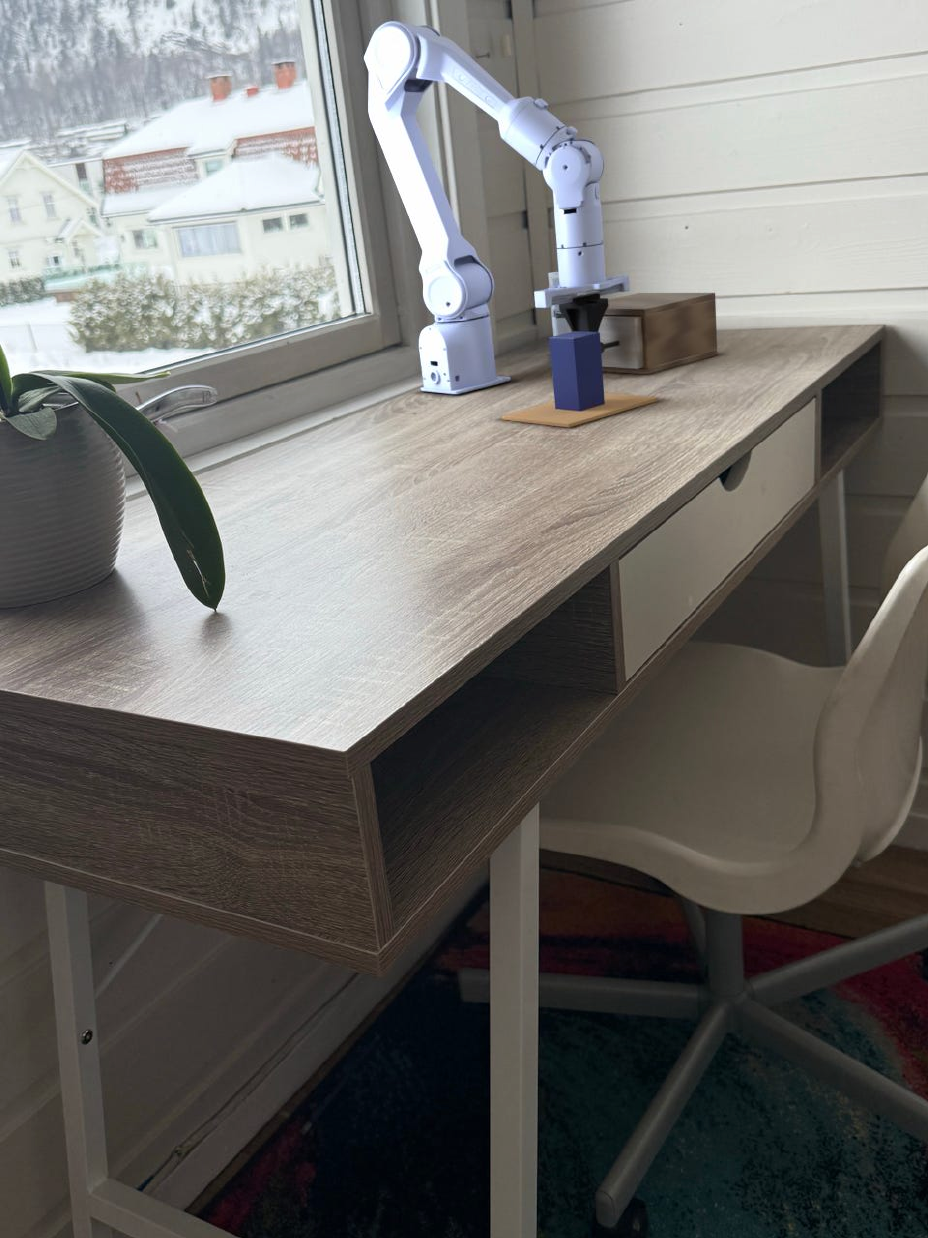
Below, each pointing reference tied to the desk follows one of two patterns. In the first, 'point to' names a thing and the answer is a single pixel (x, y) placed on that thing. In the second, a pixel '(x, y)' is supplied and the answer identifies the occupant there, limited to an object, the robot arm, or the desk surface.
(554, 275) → the ink box
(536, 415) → the cork pad
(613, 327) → the drawer
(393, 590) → the desk surface
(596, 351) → the navy block
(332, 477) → the desk surface
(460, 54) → the robot arm
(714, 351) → the cabinet
